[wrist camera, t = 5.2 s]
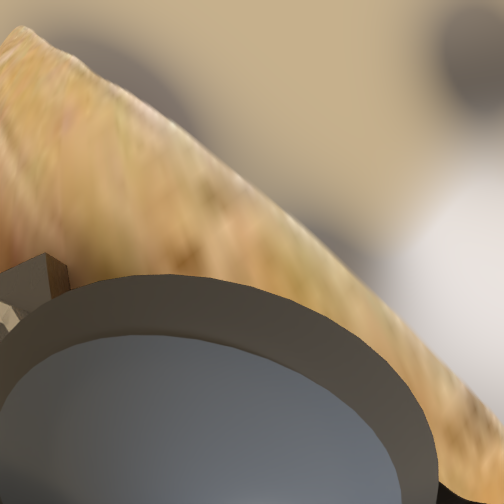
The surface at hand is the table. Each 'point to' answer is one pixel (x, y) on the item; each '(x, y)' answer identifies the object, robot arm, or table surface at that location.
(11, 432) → the lens
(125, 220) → the table surface
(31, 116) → the table surface
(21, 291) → the camera body
